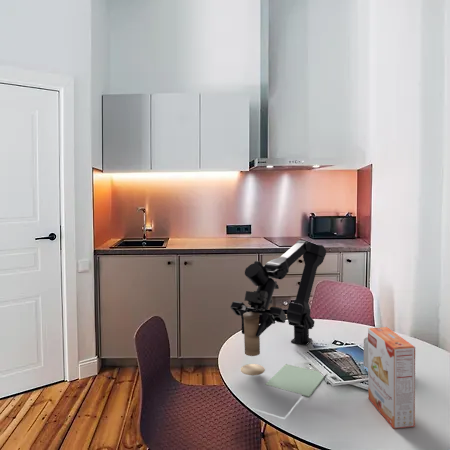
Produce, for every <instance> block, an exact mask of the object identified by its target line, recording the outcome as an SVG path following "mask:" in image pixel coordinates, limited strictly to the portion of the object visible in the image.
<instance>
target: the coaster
mask: <svg viewBox="0 0 450 450" xmlns="http://www.w3.org/2000/svg"><path fill="white" fill-rule="evenodd" d="M265 371H266V368H265V367H264V366H263V365H260V364H257V363H249V364H245V365H243V366H241V368H240V372H241V373H242V374H244V375H247V376H258V375H261V374H263V373H265Z"/></svg>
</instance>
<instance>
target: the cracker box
mask: <svg viewBox="0 0 450 450" xmlns="http://www.w3.org/2000/svg"><path fill="white" fill-rule="evenodd" d="M367 336H368V372H367V374H368V376H367V377H368V383H367V384H368V386H367V387H368V397H367V398H368V399H367V400H369V401H370V402H371V404H372V405H373V406H374V407H375V409H377V411H378V412H379V413H380V415H382V416H383V418H384V419H385V420H386V422H387V423H388V424H389V426H390V427H392V429H393V430H395V429H405V428H414V427H416V425H415V424H416V423H415V422H416V416H415V415H416V346H415V345H413V344H412V343H410V342H409V341H407V340H406V339H405V338H403V336H400V335H398V334H397V333H396V332H394V330H392V329H391V328H390V327H387V326H383V327H370V328H367Z"/></svg>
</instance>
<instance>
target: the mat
mask: <svg viewBox="0 0 450 450" xmlns="http://www.w3.org/2000/svg"><path fill="white" fill-rule="evenodd" d="M318 371H319V370H313V369H309V368H306V367H301V366H296V365H292V364H288V363H286V364H285V365H283V367H281V368H280V370H278V371H277V372H276V373H275V374H274V375H273V376H272V377H271V378H270V379H269V380H268V381H267V382H266V383H265V384H264V386H269V387H273V388H276V389H281V390H284V391H288V392H291V393H295V394H300V395H301V396H302V397H304V398H310V397H311V396H312V395H313V393H314V392H315V390H316V389H317V388H318V387H319V385H320V384H321V383H322V382H323V380H324V379H325V377H323V376H322V375H321V374H320V373H319V372H320V371H319V372H318Z"/></svg>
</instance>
